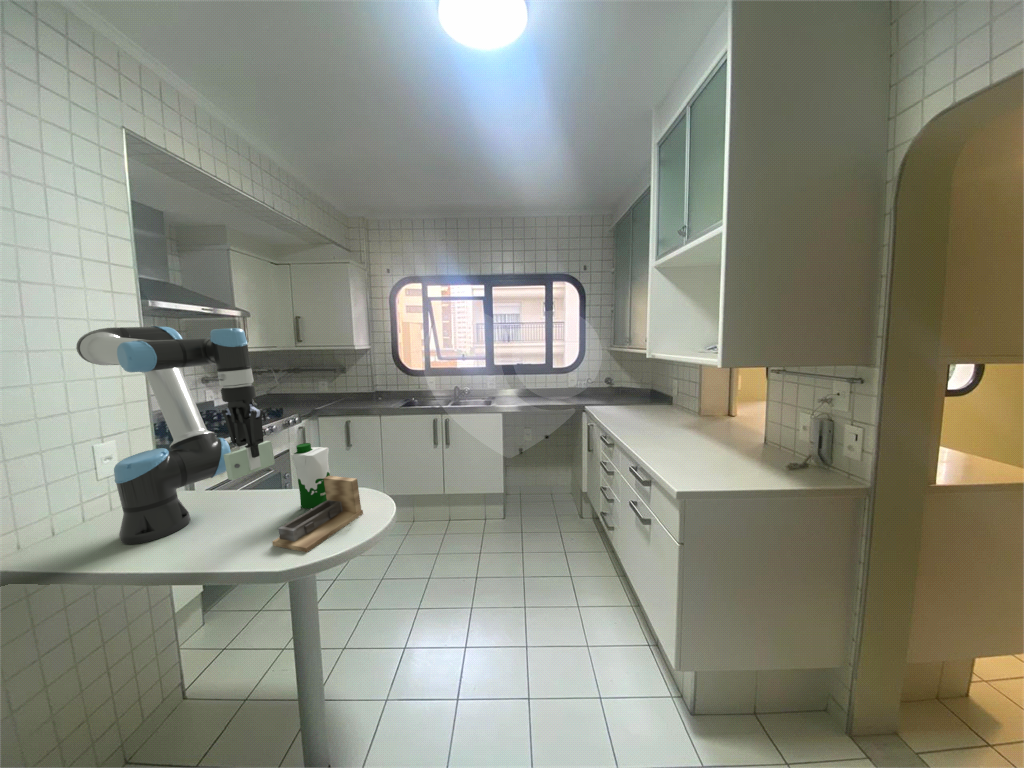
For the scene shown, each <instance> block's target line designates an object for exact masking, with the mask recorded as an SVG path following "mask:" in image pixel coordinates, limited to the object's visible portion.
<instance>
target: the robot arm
mask: <svg viewBox="0 0 1024 768" xmlns="http://www.w3.org/2000/svg"><path fill="white" fill-rule="evenodd" d="M209 333H210V334H209V335H210V337H199V338H197V337H194V338H183V336H182V335H181V334H180V333H179V332H178V331H177V330H176V329H175V328H173V327H170V326H158V325H151V326H134V327H133V326H128V327H124V326H123V327H117V326H116V327H105V328H99V329H98V328H97V329H94V330H91V331H89V332H87V333H84V335H82V336H81V337H80V338H79V339H78V340H77V343H76V347H75V349H76V352H77V354H78V355H79V356H80V357H81V358H82V359H83V360H85V361H86V362H88V363H91V364H92V365H98V366H120V367H121V368H123V370H124V371H125V372H127V373H142V374H145V375H146V378H147V380H148V381H147V382H148V383H149V386H150V388H151V390H152V392H153V395H154V397H155V399H156V401H157V404H158V407H159V409H160V411H161V414H162V416H163V419H164V421H165V424H166V425H167V428H168V430H169V432H170V435H171V438H172V439H173V441H172V442H171V443H170V444H169V449H170V450H168V449H167V448H163V447H160V448H154V449H151V450H150V449H149V450H145V451H141V452H138V453H136V454H132V455H130V456H127V457H126V458H123V459H122V460H120V461H118V462H117V463H116V464H115V465H114V468H113V472H114V473H113V476H114V483H115V485H116V489H117V492H118V493H117V494H118V497H119V500H120V504H121V507H122V512H123V514H122V520H121V525H120V529H119V539H120V543H122V544H123V545H138V544H143V543H147V542H151V541H155V540H158V539H161V538H165V537H166V536H169V535H172V534H173V533H175V532H178V531H180V530H182V529H183V528H185V527H186V526H187V525H188V524H190V522H191V517H190V513H189V511H188V509H187V508H186V507H185V506H184V504H183V503H182V501H181V500H180V499H179V497H178V493H177V492H178V491H177V489H180V488H182V487H186V486H189V485H192V484H195V483H198V482H201V481H204V480H207V479H212V478H214V477H216V476H219V475H221V474H223V473H226V472H227V471H226V465H225V460H224V454H227V453H230V452H232V450H231V447H230V445H229V442H228V441H227V440H226V439H225V438H224V437H218V438H217V436H216V434H215V431H210V430H208V429H207V427H206V425H205V423H204V420H203V418H202V415H201V413H200V411H199V408H198V406H197V404H196V401H195V399H194V397H193V395H192V391H191V390H190V387H189V385H188V383H187V381H186V378H185V376H184V374H183V371H182V368H190V367H191V368H192V367H199V366H200V367H201V366H210V365H215V367H216V372H217V379H218V382H219V386H220V387H221V388H220V394H221V395H220V396H221V400H222V401H223V402H224V403H227V408H225V409H222V410H221V414H222V416H223V418H224V419H225V424H226V428H227V431H228V434H229V437H230V441H231V444H235V445H236V446H237V447H238V450H239V449H243V448H246V451H247V457H248V462H249V468H250V470H253V469H256V468H258V467H261V463H260V457H259V455H260V454H259V448H258V444H260V443H262V442H264V429H263V427H264V426H263V414H264V410H263V408H259V409H258V408H256V405H255V403H254V401H253V400H254V399H255V398H256V396H257V393H256V387H255V385H254V384H253V383H254V380H255V379H254V375H253V370H252V369H253V368H252V366H251V364H252V363H251V361H250V360H251V359H250V353H249V352H250V351H249V346H248V345H249V344H248V340H247V337H246V333H245V330H244V329H243V328H239V327H233V328H232V327H231V328H230V327H229V328H215V329H211V330H210V332H209Z"/></svg>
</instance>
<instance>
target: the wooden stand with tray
mask: <svg viewBox="0 0 1024 768" xmlns="http://www.w3.org/2000/svg"><path fill="white" fill-rule="evenodd" d="M324 485H325V491H326V498H327V501H325V502H323V503H321V504H320V505H318V506H316V507H314V508H313V509H309V510H307V511H306V512H304V513H302V514H300V515H299V516H297V517H295V518H293V519H292V520H290V521H288V522H287V523H284V524H283V525H281V526H280V527H277V531H278V537H277V538H276V539H274V540H272V542H271V543H272V546H274V547H279V548H283V549H288V550H294V551H298V552H303V553H308V552H310V551H311V550H313V549H314V548H315V547H317V546H319V545H320V544H321V543H323V542H324V541H326V540H327V539H329V538H331V536H333V535H335V534H336V533H338V532H339V531H340V530H341V529H344V528H345V527H346V526H348V525H349V524H350V523H352V522H353V521H355V520H356V519H358V518H359V517H361V516H362V515H364V509H362V505H361V498H360V491H359V490H360V489H359V483H358V478H355V477H345V476H336V475H335V476H334V475H330V476H327V477H325V478H324Z"/></svg>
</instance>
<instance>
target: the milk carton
mask: <svg viewBox="0 0 1024 768" xmlns="http://www.w3.org/2000/svg"><path fill="white" fill-rule="evenodd" d="M329 451H330V450H329V447H322V446H316V447H315V446H313V447H312V444H311V443H310V442H304V443H299V444H297V445H296V452H294V453H292V454H290V457H291V459H292V461H293V464H294V467H295V470H296V471H295V473H296V478H297V483H298V484H297V485H298V489H299V491H298V492H299V499H300V508H301V509H309V510H311V509H313V508H314V507H316V506H318V505H320V504H321V503H323V502H325V501H327V498H326V491H325V485H324V478H325V477H327V476H331V474H330V467H329Z"/></svg>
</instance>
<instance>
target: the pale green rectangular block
mask: <svg viewBox="0 0 1024 768" xmlns="http://www.w3.org/2000/svg"><path fill="white" fill-rule="evenodd" d="M258 448H259V454H260V455H259V457H260V463H261V467H258V468H256V469H253V470H250V468H249V462H248V457H247V451H246V448H243V449H239V448H238V449H237V450H233V451H231V452H230V453H227V454H224V460H225V465H226V471H225V472H226V475H227V480H230V481H235V480H239V479H240V478H242V477H245V476H247V475H250V474H253V473H255V472H257V471H260V470H263V469H265V468H268V467H270V466H273V465H275V464H276V462H275V461H276V460H275V457H274V456H275V454H274V449H273V443H272V440H265V441H264V440H263V442H262V443H260V444H258Z"/></svg>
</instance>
